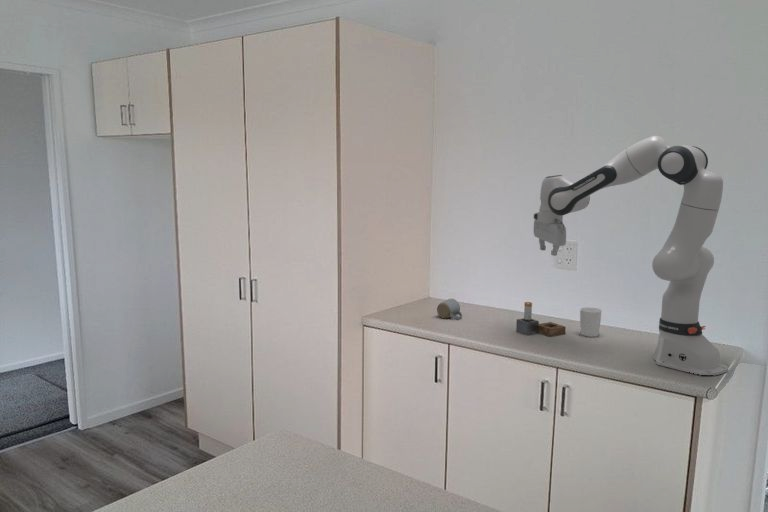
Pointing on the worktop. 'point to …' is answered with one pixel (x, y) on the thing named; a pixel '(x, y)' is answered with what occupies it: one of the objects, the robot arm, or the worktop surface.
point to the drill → (527, 311)
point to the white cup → (590, 321)
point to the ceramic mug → (449, 309)
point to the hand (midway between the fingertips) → (548, 252)
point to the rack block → (551, 329)
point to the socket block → (527, 326)
